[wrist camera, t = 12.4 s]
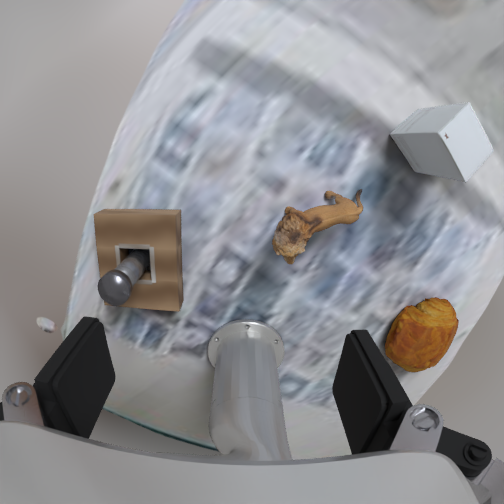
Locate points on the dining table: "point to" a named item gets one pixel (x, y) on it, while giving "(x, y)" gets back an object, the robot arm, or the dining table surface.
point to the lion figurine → (312, 224)
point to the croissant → (422, 334)
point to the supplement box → (444, 141)
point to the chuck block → (144, 237)
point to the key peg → (123, 277)
